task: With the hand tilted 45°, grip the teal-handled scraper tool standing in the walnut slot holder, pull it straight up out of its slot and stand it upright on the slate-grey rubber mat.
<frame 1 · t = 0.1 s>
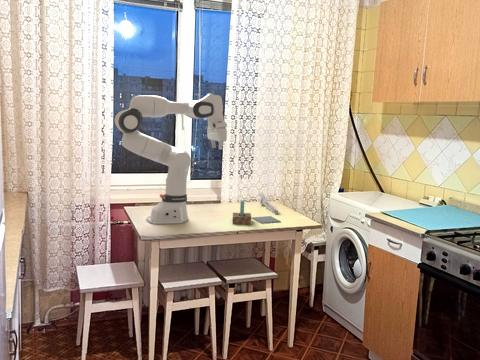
hand: (217, 148, 257), 39 cm above the table, tool pointing down, fingers open, 8 cm apart
rubber mat: (266, 220, 260), on the table
slot holder: (241, 222, 254), on the table
scraper tool: (242, 211, 253), in the slot holder
wrench: (267, 209, 289), on the table
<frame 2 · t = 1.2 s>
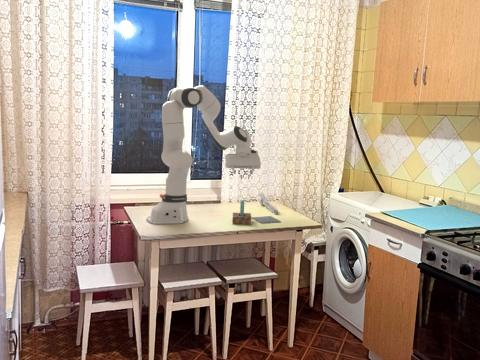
hand: (242, 173, 262), 25 cm above the table, tool tilted 45°, fingers open, 8 cm apart
nothing on the table moved.
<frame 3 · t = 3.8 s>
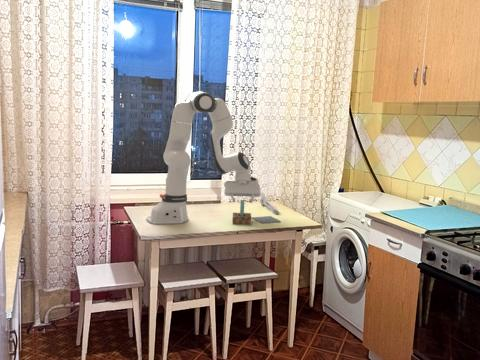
hand: (242, 201, 256), 11 cm above the table, tool tilted 45°, fingers open, 8 cm apart
nothing on the table moved.
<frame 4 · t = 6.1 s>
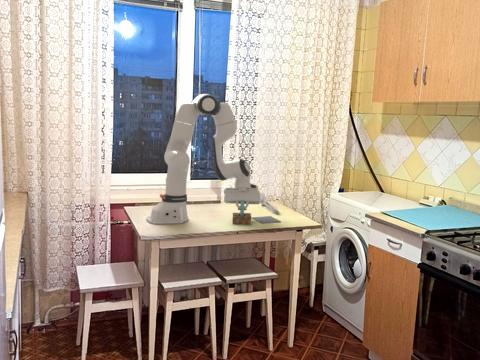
hand: (242, 209, 252), 7 cm above the table, tool tilted 45°, fingers closed on scraper tool, 2 cm apart
scraper tool: (242, 211, 253), in the slot holder, touching gripper
everything else where it was.
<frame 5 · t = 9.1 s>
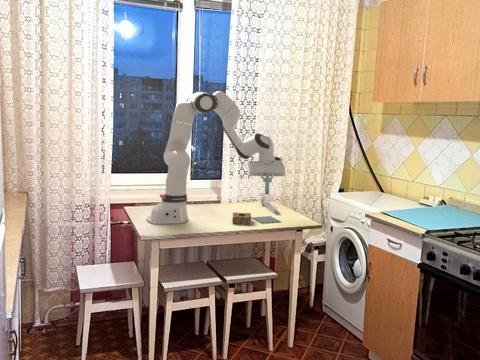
hand: (267, 181, 256), 22 cm above the table, tool tilted 45°, fingers closed on scraper tool, 2 cm apart
scraper tool: (267, 183, 257), point 21 cm above the table, touching gripper
everything else where it was.
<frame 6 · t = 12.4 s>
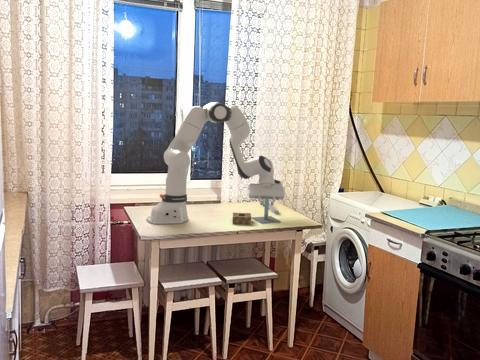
hand: (266, 204, 258), 9 cm above the table, tool tilted 45°, fingers open, 5 cm apart
scraper tool: (266, 208, 259), on the rubber mat, point 7 cm above the table
everything else where it was.
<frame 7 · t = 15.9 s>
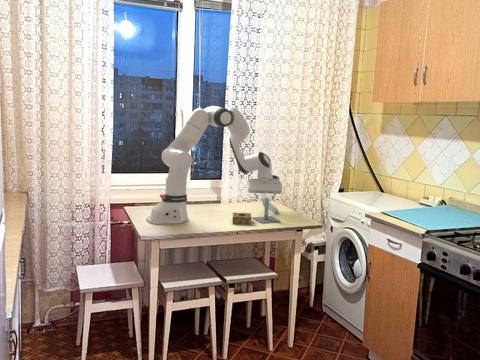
hand: (265, 198, 271), 10 cm above the table, tool tilted 45°, fingers open, 8 cm apart
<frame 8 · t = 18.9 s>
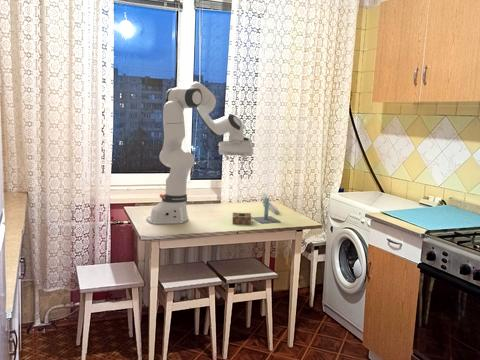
hand: (235, 159, 271), 31 cm above the table, tool tilted 45°, fingers open, 8 cm apart
at the end: scraper tool inside the target area on the rubber mat (0.1 cm from its centre), point 6.6 cm above the rubber mat's base; scraper tool tilted 0°; the gripper is holding nothing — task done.
